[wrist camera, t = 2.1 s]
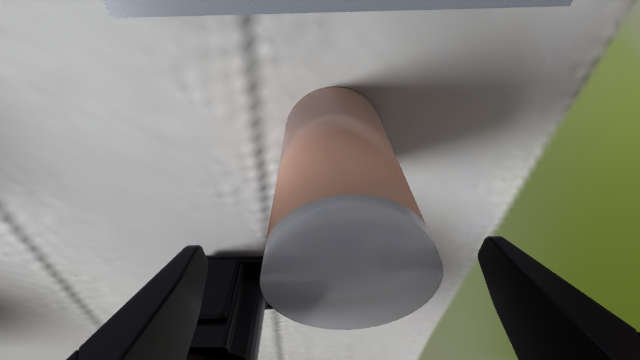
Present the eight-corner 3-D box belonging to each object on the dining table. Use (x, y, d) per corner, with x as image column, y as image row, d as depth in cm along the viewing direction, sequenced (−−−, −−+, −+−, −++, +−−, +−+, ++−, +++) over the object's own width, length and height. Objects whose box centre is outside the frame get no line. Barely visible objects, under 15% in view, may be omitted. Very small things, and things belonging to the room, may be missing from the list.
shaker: (375, 171, 17) (422, 327, 9) (290, 173, 17) (271, 331, 9) (385, 85, 14) (466, 219, 6) (281, 88, 14) (244, 225, 6)
